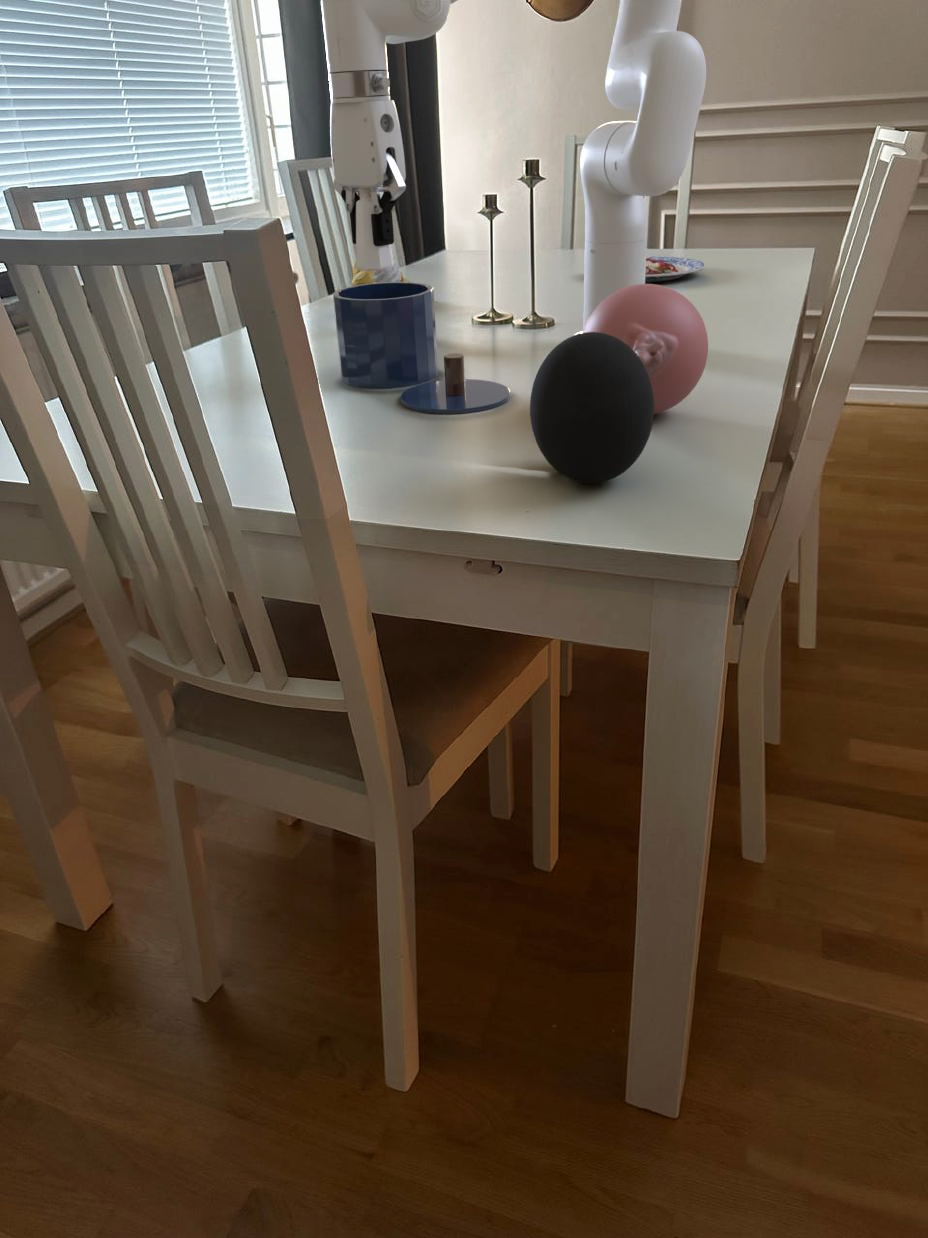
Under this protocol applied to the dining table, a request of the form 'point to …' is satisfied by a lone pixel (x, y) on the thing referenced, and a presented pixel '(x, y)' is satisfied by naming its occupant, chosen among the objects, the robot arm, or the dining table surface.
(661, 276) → the ceramic plate
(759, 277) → the dining table surface
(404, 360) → the pot
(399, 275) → the ice cream cone
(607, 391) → the decorative egg
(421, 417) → the dining table surface
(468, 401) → the lid
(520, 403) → the dining table surface
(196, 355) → the dining table surface
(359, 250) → the salt shaker
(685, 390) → the balloon
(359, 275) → the bread roll
